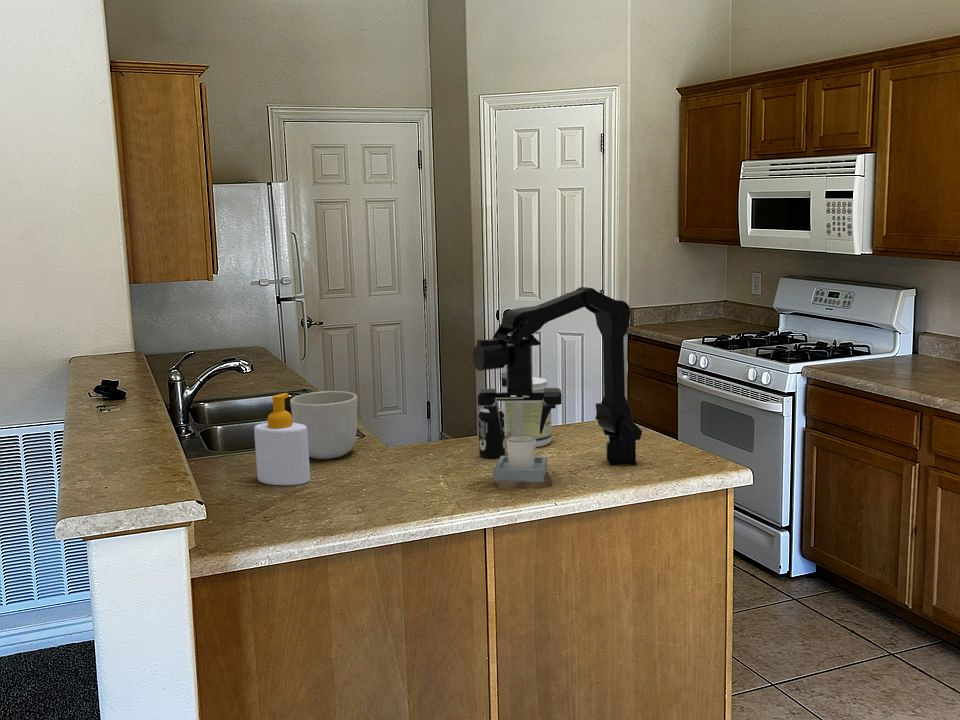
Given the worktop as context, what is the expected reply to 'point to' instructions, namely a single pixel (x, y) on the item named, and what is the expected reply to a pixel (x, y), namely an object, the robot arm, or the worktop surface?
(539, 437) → the supplement tub
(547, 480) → the slab bottom
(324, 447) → the planter
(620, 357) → the robot arm
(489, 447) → the beverage can
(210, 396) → the worktop surface
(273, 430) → the soap bottle
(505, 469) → the slab top
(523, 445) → the shot glass
